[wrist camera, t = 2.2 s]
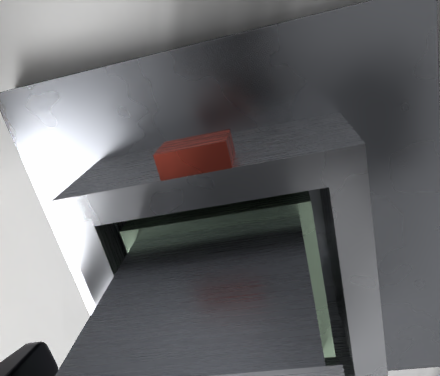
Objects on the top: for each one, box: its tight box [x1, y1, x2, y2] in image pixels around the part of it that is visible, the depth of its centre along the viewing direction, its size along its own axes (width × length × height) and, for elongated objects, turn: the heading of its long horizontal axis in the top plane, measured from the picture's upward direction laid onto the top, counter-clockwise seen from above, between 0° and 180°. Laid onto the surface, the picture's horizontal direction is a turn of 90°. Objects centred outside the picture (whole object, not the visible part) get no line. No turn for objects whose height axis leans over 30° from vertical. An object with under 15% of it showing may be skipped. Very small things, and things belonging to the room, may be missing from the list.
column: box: [55, 191, 345, 376], centre depth 9 cm, size 5×5×8 cm
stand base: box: [0, 0, 440, 376], centre depth 11 cm, size 12×12×4 cm
